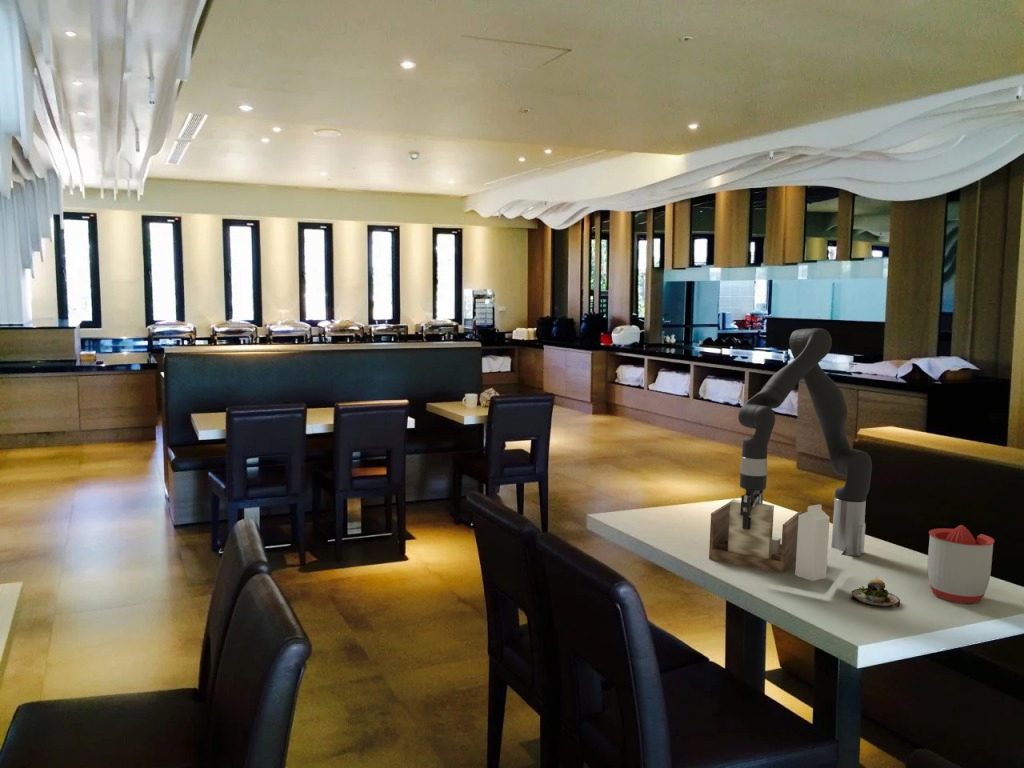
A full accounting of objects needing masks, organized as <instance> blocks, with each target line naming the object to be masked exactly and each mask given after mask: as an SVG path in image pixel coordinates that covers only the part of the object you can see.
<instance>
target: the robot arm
mask: <svg viewBox="0 0 1024 768" xmlns="http://www.w3.org/2000/svg"><path fill="white" fill-rule="evenodd" d="M832 339H833V338H832V337H831V334H830V332H829V331H828V330H827V329H824V328H819V327H818V328H817V327H816V328H815V327H814V328H813V327H812V328H801V329H796V330H794V331H792V333H791V334H790V337H789V341H788V342H789V343H788V344H789V350H790V353H791V354H792V357H793V360H792V361H790V362H788V364H786V365H785V366H783V367H782V368H780V369H779V370H778V371H777V372H775V373H774V374H773V375H772V376H771V377H770V378H769V379H768V381H767V382H766V383H765V385H764V386H763V387H762V389H761V390H760V391H759V392H757V393H755V395H753V396H752V397H751V398H750V399H748V400H747V401H745V402H744V403H743V404H742V406H741V407H740V409H739V412H738V415H737V417H738V423H739V424H740V425H741V426H743V427H744V428H747V429H754V430H755V432H754V434H753V435H750V436H745V437H744V439H743V441H742V448H741V450H742V451H741V454H742V455H741V462H740V472H739V487H740V488H741V489H743V490H745V494H741V497H740V500H741V511H740V515H742V516H743V526H742V528H743V529H745V530H750V529H751V516H752V512H753V511H754V510H755V507H756V503H761V504H764V503H763V502H764V501H763V499H764V490H766V489H767V481H768V445H769V442H770V439H771V436H772V433H773V430H774V428H775V427H774V426H775V424H776V414H775V412H774V410H773V409H777V408H779V407H780V406H781V405H782V404H783V403H784V402H785V400H786V399H787V397H788V396H789V394H790V393H791V392H792V390H793V389H794V388H795V387H796V386H797V384H798V383H799V382H800V381H801V380H802V379H803V380H804V383H805V386H806V388H807V391H808V394H809V396H810V399H811V402H812V405H813V409H814V411H815V414H816V417H817V419H818V421H819V424H820V428H821V431H822V434H823V437H824V439H825V443H826V448H827V452H828V457H829V460H830V464H831V467H832V469H833V471H834V472H835V473H837V474H838V475H839V476H843V477H845V482H844V486H840V487H837V488H836V489H835V491H834V500H833V502H834V504H833V516H832V517H833V519H832V532H831V533H832V535H831V549H835V550H839V551H841V552H842V551H843V552H842V553H841V556H842V555H843V556H849V557H851V556H852V557H855V556H856V557H861V556H862V555H863V553H864V552H865V551H864V550H865V540H866V539H865V537H866V536H865V535H866V521H865V519H866V517H865V516H866V504H867V495H868V494H869V491H870V489H871V481H872V480H871V479H872V471H873V470H872V469H873V462H872V458H871V456H870V454H869V453H867V452H866V451H863V450H859V449H855V448H852V446H851V445H850V443H849V441H848V438H847V435H846V430H845V429H846V424H847V419H848V416H849V415H848V414H849V412H848V406H847V403H846V400H845V398H844V397H845V396H844V395H843V393H842V390H841V389H840V387H839V386H838V385H837V383H836V382H835V381H834V380H833V379H832V378H831V377H830V376H829V375H828V374H826V372H825V371H824V369H822V367H821V365H820V362H821V361H822V360H823V359H825V357H826V356H827V355H828V354H829V353H830V351H831V348H832V346H833V344H832V343H833V341H832ZM746 510H747V512H746Z"/></svg>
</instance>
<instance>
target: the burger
mask: <svg viewBox="0 0 1024 768" xmlns="http://www.w3.org/2000/svg"><path fill="white" fill-rule="evenodd" d="M866 586H867V587H864V586H863V585H861V587H857V588H855V589H854V590H851V597H850V599H851V600H853V599H856V600H858V601H860V602H863V603H865V604H869V605H872V606H880V607H882V606H883V607H887V606H894V605H897V607H898V608H900V605H901V600H900V598H899V597H898V596H897V595H895V594H893V593H891V592H889V590H888V589H886V583H885V582H884V581H883V580H882V579H879V578H873V579H871V580H869V581H868V582H867V585H866Z"/></svg>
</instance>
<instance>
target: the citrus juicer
mask: <svg viewBox="0 0 1024 768" xmlns="http://www.w3.org/2000/svg"><path fill="white" fill-rule="evenodd" d="M928 534H929V542H928V554H927V576H928V580H929V581H928V582H929V586H930V589H931V591H932V593H933V595H935V597H936V598H940V599H944V600H946V601H949V602H950V601H951V602H955V603H961V604H963V603H965V604H964V605H970V604H977V603H979V602H981V601H982V599H983V598H984V596H985V594H986V591H987V589H988V587H989V583H990V579H991V572H992V562H993V551H994V544H995V539H994V538H993V537H991V536H988V535H986V534H982V533H980V534H978V535H977V536H976V538H975V537H974V536H973V534H972V532H970V530H969V529H968V528H967V527H966V526H965V525H963V524H960V525H958V526H956V527H955V528H941V527H940V528H934V529H933V528H932V529H930V530H928Z"/></svg>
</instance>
